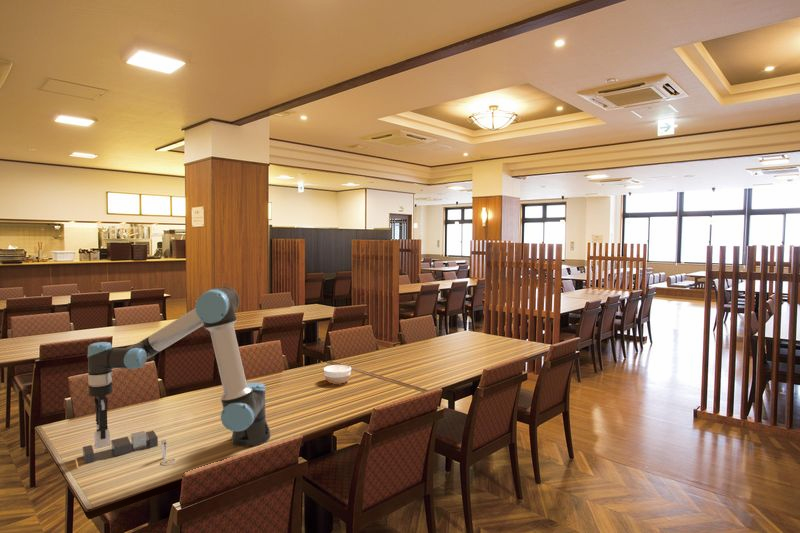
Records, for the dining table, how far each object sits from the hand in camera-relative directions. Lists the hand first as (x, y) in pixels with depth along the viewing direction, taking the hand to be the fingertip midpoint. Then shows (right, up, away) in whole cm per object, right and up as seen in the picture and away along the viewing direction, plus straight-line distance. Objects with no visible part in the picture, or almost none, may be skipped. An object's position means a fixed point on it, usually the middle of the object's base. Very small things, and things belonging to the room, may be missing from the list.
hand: (102, 444), depth 176 cm
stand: (+26, -5, -3) cm, 26 cm away
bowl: (+77, 0, +93) cm, 121 cm away
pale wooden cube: (0, 0, 0) cm, 1 cm away
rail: (+5, -5, +4) cm, 8 cm away
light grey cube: (+10, -4, +8) cm, 13 cm away
